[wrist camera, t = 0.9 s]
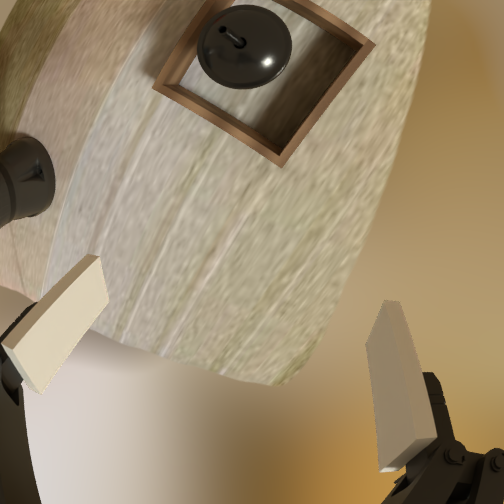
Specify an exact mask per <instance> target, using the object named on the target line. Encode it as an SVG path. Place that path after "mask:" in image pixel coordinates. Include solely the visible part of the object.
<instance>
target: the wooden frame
mask: <svg viewBox="0 0 504 504" xmlns="http://www.w3.org/2000/svg"><path fill="white" fill-rule="evenodd" d="M234 1H235V0H206V2H205V3H204V5H203V6H202V7H201V9H200V10H199V12H198V13H197V14H196V16H195V17H194V19H193V20H192V22H191V23H190V25H189V26H188V28H187V29H186V31H185V32H184V34H183V35H182V37H181V38H180V40H179V42H178V43H177V45H176V46H175V48H174V50H173V51H172V53H171V55H170V56H169V58H168V60H167V61H166V63H165V65H164V67H163V68H162V70H161V72H160V74H159V75H158V77H157V79H156V81H155V83H154V85H153V86H152V89H154V90H156V91H158V92H159V93H161V94H163V95H165V96H167V97H168V98H170V99H172V100H174V101H175V102H177V103H179V104H181V105H182V106H184V107H186V108H188V109H189V110H191V111H193V112H194V113H196V114H198V115H199V116H201V117H203V118H204V119H206V120H208V121H209V122H211V123H213V124H214V125H216V126H217V127H219V128H221V129H222V130H224V131H226V132H227V133H229V134H230V135H232V136H233V137H235V138H237V139H238V140H240V141H241V142H243V143H244V144H246V145H247V146H249V147H250V148H252V149H253V150H255V151H256V152H258V153H259V154H261V155H262V156H264V157H265V158H267V159H268V160H270V161H271V162H273V163H274V164H276V165H277V166H279V167H280V168H282V167H283V166H284V165H285V163H286V162H287V161H288V159H289V158H290V156H291V155H292V154H293V152H294V151H295V150H296V148H297V147H298V146H299V144H300V143H301V142H302V140H303V139H304V138H305V136H306V135H307V134H308V132H309V131H310V130H311V128H312V127H313V126H314V124H315V123H316V122H317V120H318V119H319V118H320V116H321V115H322V114H323V113H324V111H325V110H326V109H327V107H328V106H329V105H330V103H331V102H332V101H333V99H334V98H335V97H336V96H337V94H338V93H339V92H340V90H341V89H342V88H343V86H344V85H345V84H346V83H347V81H348V80H349V79H350V77H351V76H352V75H353V74H354V72H355V71H356V70H357V68H358V67H359V66H360V65H361V63H362V62H363V61H364V60H365V58H366V57H367V56H368V54H369V53H370V52H371V51H372V49H373V48H374V47H375V46H376V44H375V43H373V42H372V41H371V40H369V39H368V38H367V37H365V36H364V35H362V34H361V33H360V32H358V31H357V30H355V29H354V28H353V27H351V26H350V25H348V24H347V23H345V22H344V21H342V20H341V19H339V18H338V17H336V16H334V15H333V14H331V13H330V12H328V11H326V10H325V9H323V8H321V7H320V6H318V5H316V4H315V3H313V2H311V1H309V0H273V1H275V2H277V3H279V4H281V5H283V6H284V7H286V8H288V9H290V10H292V11H294V12H295V13H297V14H299V15H301V16H302V17H304V18H306V19H307V20H309V21H311V22H312V23H314V24H316V25H317V26H319V27H321V28H322V29H324V30H325V31H327V32H328V33H330V34H331V35H333V36H334V37H336V38H337V39H339V40H340V41H342V42H343V43H345V44H346V45H348V46H349V47H350V48H352V49H353V50H355V51H356V52H355V54H354V55H353V56H352V57H351V59H350V60H349V61H348V62H347V64H346V65H345V66H344V68H343V69H342V70H341V71H340V73H339V74H338V75H337V77H336V78H335V79H334V80H333V82H332V83H331V84H330V86H329V87H328V88H327V90H326V91H325V92H324V94H323V95H322V96H321V97H320V99H319V100H318V101H317V103H316V104H315V105H314V107H313V108H312V109H311V111H310V112H309V113H308V115H307V116H306V117H305V119H304V120H303V121H302V123H301V124H300V126H299V127H298V128H297V130H296V131H295V132H294V134H293V135H292V136H291V138H290V139H289V140H288V142H287V143H286V145H285V146H284V147H283V149H282V148H280V147H279V146H277V145H276V144H274V143H273V142H271V141H270V140H268V139H267V138H265V137H264V136H262V135H261V134H259V133H258V132H256V131H255V130H253V129H252V128H250V127H249V126H247V125H245V124H244V123H242V122H241V121H239V120H238V119H236V118H234V117H233V116H231V115H230V114H228V113H226V112H225V111H223V110H221V109H220V108H218V107H216V106H215V105H213V104H211V103H210V102H208V101H206V100H204V99H203V98H201V97H199V96H198V95H196V94H194V93H192V92H190V91H189V90H187V89H185V88H183V87H181V86H180V85H179V83H180V81H181V80H182V78H183V76H184V75H185V73H186V71H187V70H188V68H189V66H190V65H191V63H192V62H193V60H194V58H195V57H196V55H197V42H198V38H199V35H200V32H201V30H202V29H203V27H204V25H205V24H206V23H207V22H208V21H209V20H210V19H211V18H212V17H213V16H214V15H215V14H217V13H218V12H220V11H222V10H224V9H226V8H229V7H230V6H231V5H232V4H233V2H234Z"/></svg>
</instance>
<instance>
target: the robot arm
mask: <svg viewBox="0 0 504 504" xmlns="http://www.w3.org/2000/svg"><path fill="white" fill-rule="evenodd" d="M54 193H55V174H54V169H53V165H52V162H51V159H50V157H49V155H48V153H47V151H46V149H45V148H44V147H43V145H42V144H41V143H40V142H39V141H37V140H36V139H34V138H31V137H24V138H21V139H18V140H15V141H13V142H12V143H10V144H9V145H8V146H7V147H6V149H5V150H4V151H2V152H1V153H0V228H2V227H3V226H5V225H6V224H7V223H9V222H11V221H12V220H17V219H22V218H25V217H34V216H37V215H39V214H40V213H42V212H43V211H45V210H46V209H47V208H48V207H49V206H50V205H51V203H52V200H53V198H54ZM108 302H109V297H108V293H107V289H106V285H105V280H104V276H103V271H102V266H101V261H100V256H95V255H90V254H87V255H86V256H85V257H84V258H83V259H82V260H81V261H80V262H78V263H77V264H76V265H75V266H74V267H73V268H72V269H71V270H70V271H69V272H68V273H67V274H66V275H65V276H64V277H63V278H62V279H61V280H60V281H59V282H58V283H57V284H56V285H55V286H54V287H53V288H52V289H51V290H50V291H49V292H48V293H47V294H46V295H45V296H44V297H43V298H42V299H41V300H40V301H39V302H35V303H34V304H32V305H30V306H29V307H27V308H26V309H25V310H24V311H23V312H22V313H21V315H20V316H19V317H18V318H17V319H16V320H15V322H13V323H12V324H11V325H10V326H9V328H8V329H7V330H6V331H5V332H4V333H3V334H2V335H1V337H0V504H41V500H40V496H39V493H38V489H37V485H36V480H35V476H34V471H33V466H32V461H31V456H30V450H29V444H28V437H27V429H26V421H25V410H24V397H23V388H22V385H21V383H22V381H23V380H24V381H25V383H26V384H27V386H28V387H29V388H30V389H31V390H33V391H35V392H36V393H38V394H40V395H42V393H43V392H44V390H45V389H46V387H47V386H48V384H49V383H50V381H51V380H52V378H53V377H54V375H55V374H56V373H57V371H58V370H59V368H60V367H61V365H62V364H63V362H64V361H65V360H66V358H67V357H68V355H69V354H70V353H71V351H72V350H73V349H74V347H75V346H76V344H77V343H78V342H79V340H80V339H81V338H82V336H83V335H84V333H85V332H86V331H87V330H88V328H89V327H90V326H91V324H92V323H93V322H94V320H95V319H96V318H97V317H98V315H99V314H100V313H101V311H102V310H103V309H104V308H105V306H106V305H107V304H108ZM366 351H367V358H368V364H369V371H370V379H371V386H372V394H373V402H374V412H375V422H376V433H377V446H378V461H379V472H390V471H398V470H400V469H401V468H402V467H403V466H405V465H406V473H405V474H404V475H402V476H401V477H400V478H398V479H397V480H396V481H395V482H394V483H395V484H396V483H397V484H396V486H395V487H394V488H393V490H392V491H391V492H390V494H389V495H388V496H387V497H386V498H385V500H384V501H383V502H382V503H381V504H503V501H504V450H502V449H500V448H494V449H492V450H490V451H489V452H487V453H486V454H479V453H473V452H469V451H467V450H466V448H465V446H464V445H463V444H462V443H461V442H459V441H456V440H455V437H454V434H453V429H452V425H451V421H450V417H449V413H448V409H447V406H446V405H445V403H446V402H445V398H444V396H443V391H442V387H441V384H440V382H439V380H438V379H437V377H436V376H435V375H434V373H433V372H422V370H421V367H420V363H419V360H418V356H417V353H416V350H415V347H414V344H413V340H412V337H411V334H410V331H409V327H408V324H407V322H406V319H405V316H404V313H403V310H402V307H401V305H400V302H397V301H388V300H384V302H383V304H382V306H381V309H380V311H379V314H378V316H377V319H376V321H375V324H374V326H373V329H372V331H371V333H370V335H369V338H368V340H367V342H366Z"/></svg>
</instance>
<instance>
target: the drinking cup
mask: <svg viewBox="0 0 504 504" xmlns="http://www.w3.org/2000/svg"><path fill="white" fill-rule="evenodd" d="M291 52H292V40H291V35H290V32H289V30H288V28H287V26H286V25H285V23H284V22H283V21H282V19H281V18H280V17H279V16H277V15H276V14H275V13H273V12H272V11H270V10H268V9H266V8H263V7H260V6H255V5H237V6H232V7H229V8H226V9H224V10H222V11H220V12H218V13H217V14H215V15H214V16H213V17H212V18H211V19H210V20H209V21H208V22H207V23H206V24H205V25H204V27H203V29H202V30H201V32H200V35H199V38H198V42H197V56H198V60H199V62H200V65H201V67H202V69H203V70H204V72H205V73H206V74H207V75H208V76H209V77H210V78H211V79H212V80H214V81H215V82H217V83H219V84H221V85H223V86H225V87H229V88H233V89H253V88H257V87H260V86H263V85H265V84H267V83H269V82H271V81H272V80H274V79H275V78H276V77H278V76H279V75H280V74H281V73H282V71H283V70H284V69H285V67H286V66H287V64H288V62H289V59H290V56H291Z"/></svg>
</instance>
